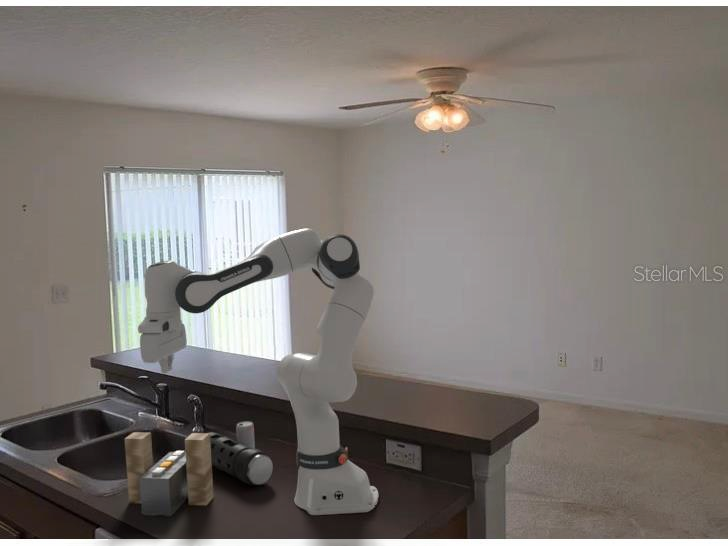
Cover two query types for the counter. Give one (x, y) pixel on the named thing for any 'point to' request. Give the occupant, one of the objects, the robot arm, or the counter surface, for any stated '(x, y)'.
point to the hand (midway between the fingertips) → (166, 371)
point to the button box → (165, 485)
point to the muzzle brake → (240, 460)
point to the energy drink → (245, 433)
